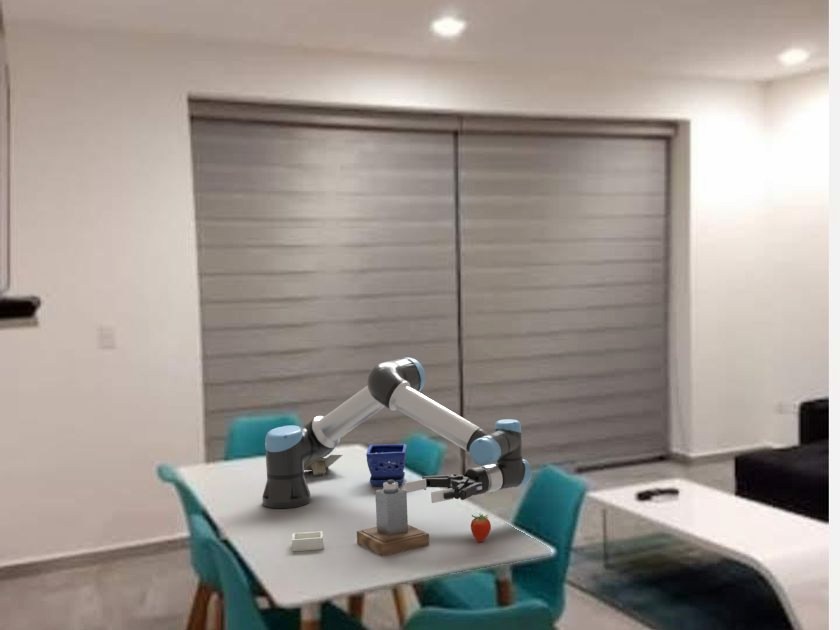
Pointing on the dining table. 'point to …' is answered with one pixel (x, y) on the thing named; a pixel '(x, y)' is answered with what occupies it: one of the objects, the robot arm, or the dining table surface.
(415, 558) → the dining table surface
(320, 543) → the box
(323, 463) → the wall
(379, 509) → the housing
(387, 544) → the stand
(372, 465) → the flower pot
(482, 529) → the fruit
